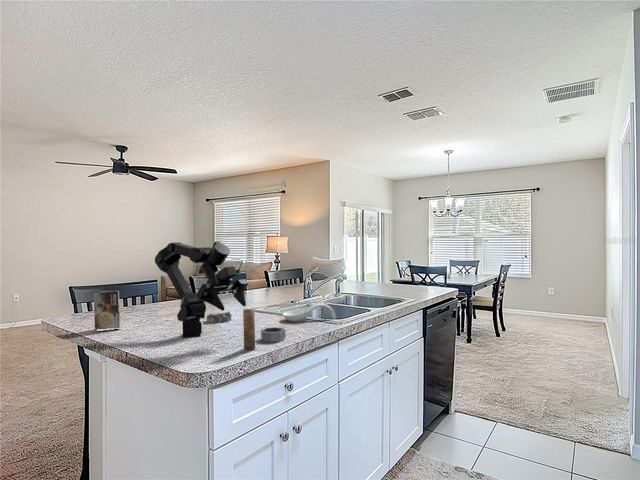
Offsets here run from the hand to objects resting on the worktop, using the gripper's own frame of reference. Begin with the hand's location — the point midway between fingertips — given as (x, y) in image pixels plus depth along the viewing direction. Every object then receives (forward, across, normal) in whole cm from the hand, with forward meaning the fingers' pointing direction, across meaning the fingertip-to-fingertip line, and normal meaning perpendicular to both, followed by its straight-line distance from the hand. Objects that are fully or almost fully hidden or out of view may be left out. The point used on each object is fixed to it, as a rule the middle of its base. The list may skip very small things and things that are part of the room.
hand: (234, 307), depth 129 cm
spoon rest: (+4, +48, +15) cm, 50 cm away
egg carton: (-19, +23, +38) cm, 48 cm away
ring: (+12, +14, +6) cm, 19 cm away
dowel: (+14, 0, +4) cm, 15 cm away
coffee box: (-37, -14, +55) cm, 68 cm away
